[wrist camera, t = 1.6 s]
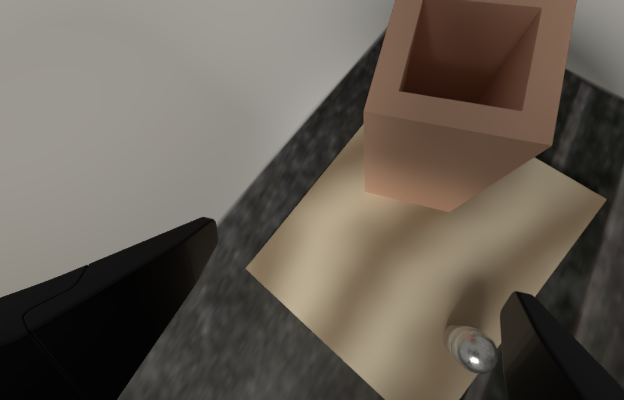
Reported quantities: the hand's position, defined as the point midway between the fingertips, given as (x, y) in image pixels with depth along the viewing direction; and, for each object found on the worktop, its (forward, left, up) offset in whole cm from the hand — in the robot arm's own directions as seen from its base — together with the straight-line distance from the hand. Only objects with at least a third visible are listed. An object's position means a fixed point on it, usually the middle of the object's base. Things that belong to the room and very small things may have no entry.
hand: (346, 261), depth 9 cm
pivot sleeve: (+1, -8, -13) cm, 15 cm away
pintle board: (-2, -4, -14) cm, 14 cm away
